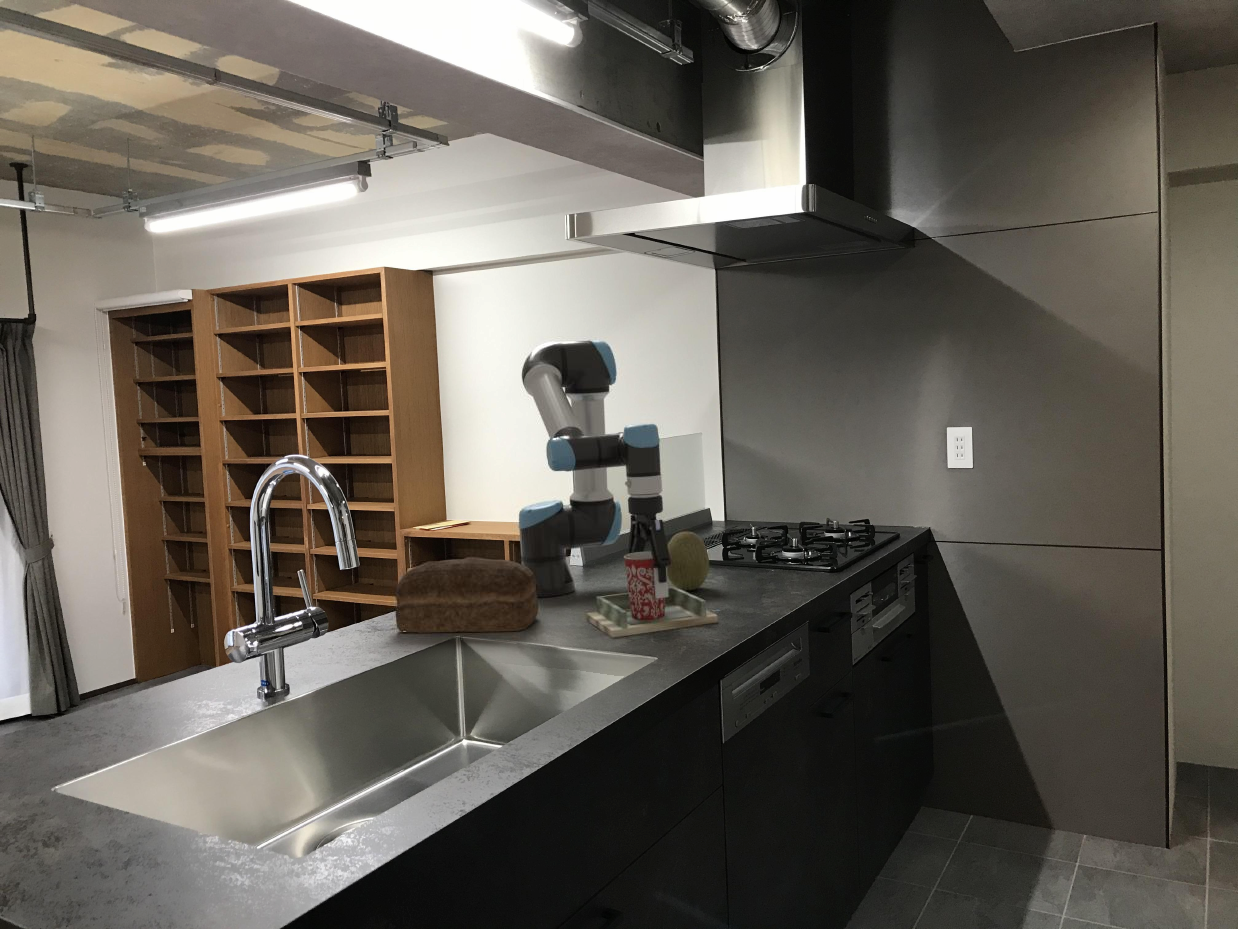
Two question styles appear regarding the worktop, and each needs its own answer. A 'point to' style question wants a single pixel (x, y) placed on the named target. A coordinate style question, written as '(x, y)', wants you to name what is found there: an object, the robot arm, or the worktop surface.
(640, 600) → the mug
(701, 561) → the fruit
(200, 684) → the worktop surface
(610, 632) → the tray
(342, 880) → the worktop surface
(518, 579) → the bread
